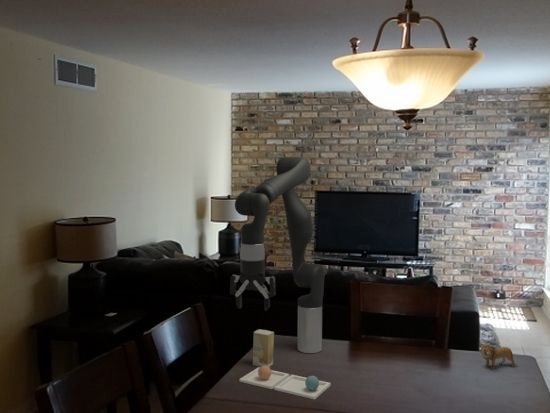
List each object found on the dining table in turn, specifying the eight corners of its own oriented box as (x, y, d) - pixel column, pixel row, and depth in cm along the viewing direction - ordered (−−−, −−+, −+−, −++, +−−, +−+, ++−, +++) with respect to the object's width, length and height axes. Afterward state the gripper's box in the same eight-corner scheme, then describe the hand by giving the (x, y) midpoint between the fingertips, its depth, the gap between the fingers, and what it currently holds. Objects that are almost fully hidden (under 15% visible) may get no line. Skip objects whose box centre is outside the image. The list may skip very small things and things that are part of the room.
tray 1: (258, 370, 193) (258, 367, 193) (289, 377, 188) (289, 373, 188) (239, 382, 183) (239, 379, 183) (271, 390, 177) (271, 386, 177)
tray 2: (291, 378, 187) (291, 374, 187) (330, 386, 180) (330, 383, 180) (274, 391, 177) (274, 387, 177) (314, 400, 170) (314, 396, 170)
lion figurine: (487, 372, 193) (488, 346, 192) (476, 366, 198) (477, 342, 197) (519, 366, 199) (520, 341, 198) (507, 361, 204) (508, 337, 203)
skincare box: (252, 365, 198) (252, 331, 197) (258, 361, 202) (258, 328, 201) (268, 369, 195) (268, 334, 194) (274, 365, 199) (274, 331, 198)
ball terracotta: (262, 375, 188) (262, 362, 188) (273, 377, 186) (273, 365, 186) (255, 379, 184) (255, 366, 184) (267, 382, 182) (267, 369, 182)
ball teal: (308, 385, 180) (309, 372, 179) (321, 388, 178) (321, 375, 177) (302, 390, 176) (302, 377, 176) (315, 393, 174) (315, 380, 173)
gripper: (277, 256, 176) (277, 306, 177) (234, 254, 179) (234, 304, 181) (272, 260, 168) (272, 313, 170) (226, 258, 172) (227, 310, 173)
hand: (252, 308), depth 175 cm, fingers open, 8 cm apart
